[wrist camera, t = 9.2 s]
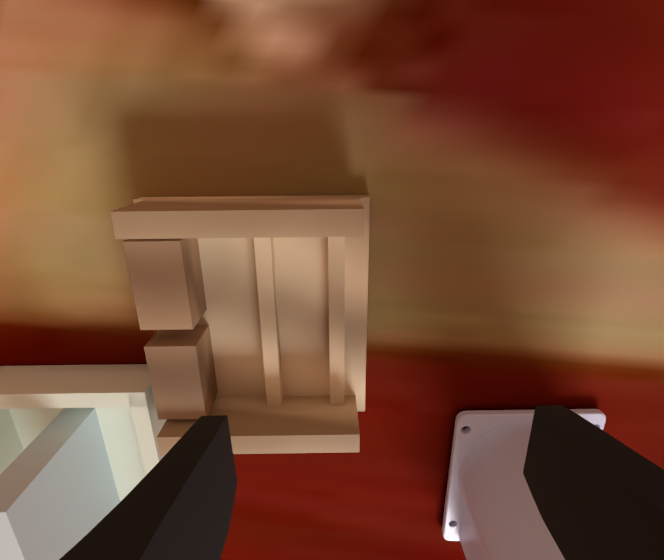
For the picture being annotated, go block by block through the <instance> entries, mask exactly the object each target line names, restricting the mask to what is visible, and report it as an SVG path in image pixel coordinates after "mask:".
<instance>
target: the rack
mask: <svg viewBox="0 0 664 560" xmlns="http://www.w3.org/2000/svg"><path fill="white" fill-rule="evenodd" d="M133 203H134V204H131V205H128V206H125V207H122V208H119V209H116V210H113V211H111V212H110V214H111V219H112V224H113V229H114V234H115V239H182V238H198V245H199V253H200V261H201V268H202V276H203V283H204V291H205V299H206V306H207V310H206V312H205V313H204V314H203V316H202V317H201V319H200V320H199V322H198V323H197V324H196V325H209V329H210V337H211V344H212V352H213V359H214V367H215V375H216V382H217V390H218V393H217V395H216V397H215V400H214V402H213V404H212V407H211V409H210V411H209V414H208V416H215V415H227V416H228V423H229V430H230V437H231V443H232V450H233V454H268V453H338V452H359V443H360V433H359V423H358V414H357V411H365V386H366V345H367V304H368V263H369V222H370V196H369V195H292V196H197V197H140V198H137V199H134V200H133ZM157 331H158V330H157ZM197 420H198V419H167V420H166V422H165V423H164V425H163V427H162V429H161V430H160V432H159V434H158V436H157V442H158V447H159V452H160V455H166V454H167V452H168V451H169V450H170V449H171V448H172V447H173V446H174V445H175V444H176V443H177V441H178V440H179V439H180V438H181V437H182V436H183V435H184V434H185V433H186V432H187V430H188V429H189V428H190V427H191V426H192V425H193V424H194V423H195V422H196V421H197Z"/></svg>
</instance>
